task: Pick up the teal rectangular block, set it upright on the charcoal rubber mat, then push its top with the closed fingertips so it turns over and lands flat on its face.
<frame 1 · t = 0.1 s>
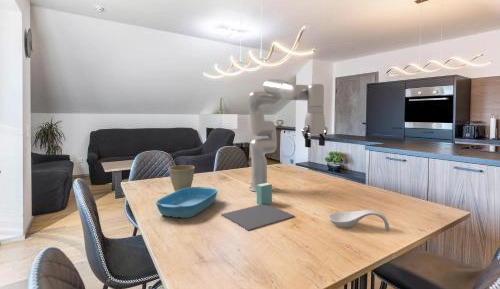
hand: (314, 146, 138), 31 cm above the table, tool pointing down, fingers open, 9 cm apart
casserole dish: (189, 208, 145), on the table
plant pot: (182, 194, 170), on the table
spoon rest: (357, 227, 120), on the table
mat: (257, 216, 133), on the table
teal rectangular block: (264, 203, 151), on the table
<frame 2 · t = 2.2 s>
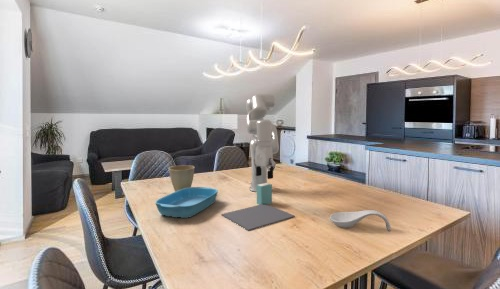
hand: (264, 177, 149), 14 cm above the table, tool pointing down, fingers open, 9 cm apart
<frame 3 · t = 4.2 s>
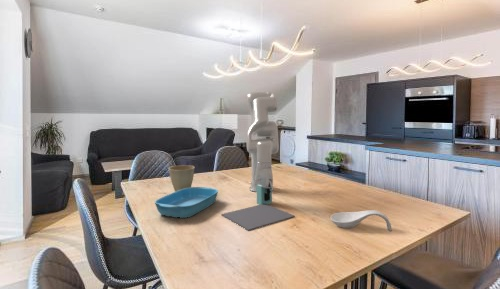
hand: (264, 198, 151), 2 cm above the table, tool pointing down, fingers closed on teal rectangular block, 4 cm apart
teal rectangular block: (264, 203, 151), on the table, touching gripper
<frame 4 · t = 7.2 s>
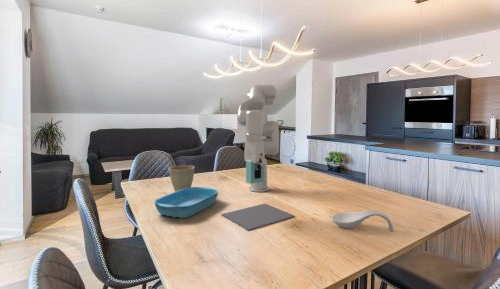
hand: (254, 176, 132), 18 cm above the table, tool pointing down, fingers closed on teal rectangular block, 4 cm apart
teal rectangular block: (254, 181, 133), point 16 cm above the table, touching gripper
when the fingers open (4 cm above the table, at t = 10.4 s): teal rectangular block stays where it is, resting on mat.
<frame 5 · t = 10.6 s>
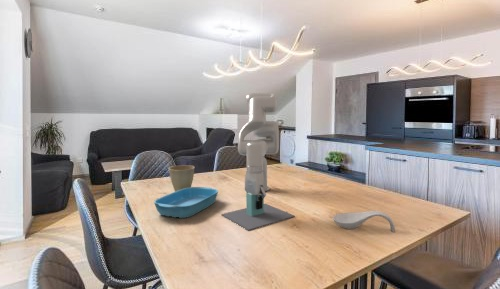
hand: (255, 206, 134), 4 cm above the table, tool pointing down, fingers open, 5 cm apart
teal rectangular block: (255, 213, 134), point 1 cm above the table, touching mat
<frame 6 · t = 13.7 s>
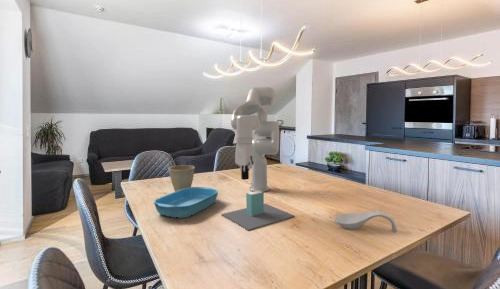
hand: (245, 179, 139), 16 cm above the table, tool pointing down, fingers closed
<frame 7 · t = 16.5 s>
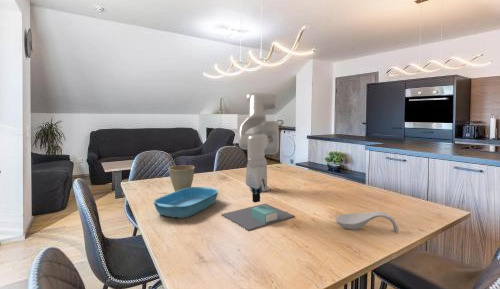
hand: (256, 201, 133), 7 cm above the table, tool pointing down, fingers closed
teal rectangular block: (257, 210, 133), point 3 cm above the table, tilted 90°, touching mat
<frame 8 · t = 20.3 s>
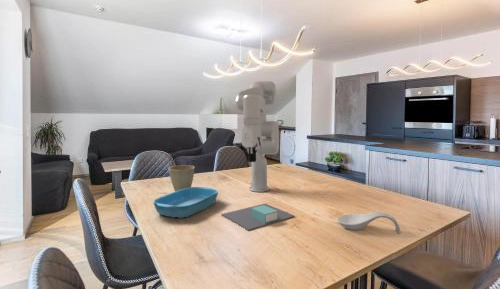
hand: (252, 161, 133), 25 cm above the table, tool pointing down, fingers closed
at the end: teal rectangular block tilted 90°; teal rectangular block inside the target area (4.0 cm from its centre), point 2.6 cm above the table; the gripper is holding nothing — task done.
